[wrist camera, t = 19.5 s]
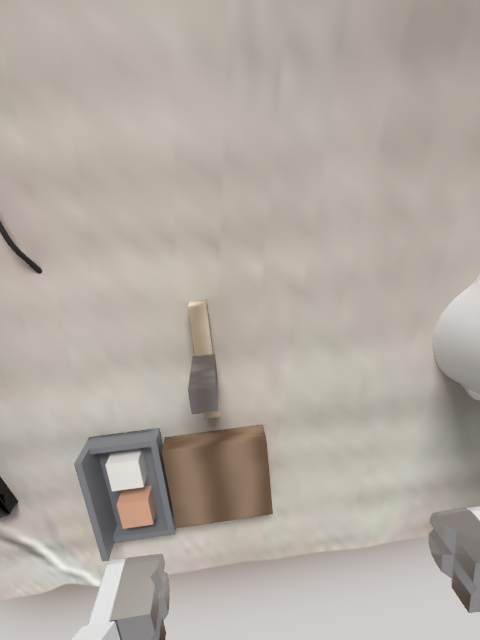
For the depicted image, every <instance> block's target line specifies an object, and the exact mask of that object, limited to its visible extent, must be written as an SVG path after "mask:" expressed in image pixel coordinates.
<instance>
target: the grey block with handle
mask: <svg viewBox="0 0 480 640" xmlns="http://www.w3.org/2000/svg"><path fill="white" fill-rule="evenodd" d="M188 312H189V319H190V325H191V332H192V339H193V346H194V353H195V356H194V357H193V359H192V366H191V373H190V381H189V388H188V392H189V399H190V405H191V412H192V414H197V413H203V415H204V419H209V418H216V417H221V416H220V401H219V393H218V383H217V369H216V361H215V354H213V346H212V338H211V331H210V323H209V315H208V307H207V300H201V301H192V302H189V306H188Z"/></svg>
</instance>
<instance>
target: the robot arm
mask: <svg viewBox="0 0 480 640" xmlns="http://www.w3.org/2000/svg"><path fill="white" fill-rule="evenodd" d="M433 353H434V357H435V360H436V363H437V365H438V366H439V368H440V369H441V371H442V372H443V373H444V374H445V375H446V376H448V377H449V378H450V379H452V380H454V381H456V382H457V383H459V384H461V385H462V386H463V387H464V389H465V390H466V392H467V393H468V394H469V396H470V397H472V398H473V399H475V400H480V275H479V276H478V277H477V279H476V280H475V282H474V283H473V284H472V285H471V286H470V287H469V288H467V289H466V290H465V291H463V292H462V293H461V294H460V295H458V296H457V297H456V298H455V299H454V300H453V301H452V302H451V303H450V304H449V305H448V307H447V308H446V309H445V310H444V312H443V313H442V315H441V317H440V319H439V321H438V323H437V325H436V328H435V331H434V336H433ZM430 524H431V525H432V526H433V528H434V529H433V530H432V531H431V533H430V534H429V546H430V550H431V554H432V556H433V558H434V560H435V562H436V564H437V565H438V567H439V568H440V570H441V571H442V572H443V573H445V574H446V575H448V576H449V577H451V578H452V588H453V590H454V591H455V593H456V594H457V596H458V597H459V599H460V600H461V602H462V603H463V605H464V606H465V608H466V609H467V611H468V612H469V613H472V612H480V506H477V507H470V508H465V509H464V508H461V509H455V510H449V511H442V512H436V513H433V514H432V515H431V518H430ZM164 566H165V561H164V557H163V554H156V555H148V556H139V557H131V558H123V559H116V560H110V561H109V563H108V564H107V566H106V568H105V572H104V575H103V578H102V581H101V584H100V588H99V591H98V594H97V597H96V601H95V604H94V607H93V610H92V613H91V617H90V620H89V623H88V625H86V626H82V627H81V628H80V630H79V631H78V632H77V633H76V634H75V636H74V637H73V638H72V639H71V640H165V636H166V631H165V626H164V622H163V621H164V619H165V618H166V616H167V615H168V610H169V579H168V574H167V573H166V572H164Z"/></svg>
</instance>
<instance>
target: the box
mask: <svg viewBox="0 0 480 640" xmlns="http://www.w3.org/2000/svg"><path fill="white" fill-rule="evenodd" d="M137 448H142V449H143V454H144V459H145V463H146V468H147V477H146V481H145V485H144V487H146V486H151V487H152V491H153V496H154V500H155V505H156V514H155V519H154V524H153V525H146V526H140V527H133V528H126V529H123V527H122V524H121V520H120V516H119V512H118V508H117V502H118V499H119V496H120V493H121V490H119V491H112V490H111V486H110V482H109V478H108V474H107V470H106V466H105V465H106V463H107V460H108V458H109V456H110V454H111V452H114V451H122V450H130V449H137ZM162 449H163V444H162V439H161V434H160V429H159V428H157V429H149V430H142V431H134V432H126V433H119V434H111V435H103V436H96V437H89V439H88V441H87V442H86V444H85V446H84V448H83V449H82V451H81V453H80V455H79V457H78V458H77V460H76V462H75V464H74V465H75V469H76V472H77V476H78V479H79V483H80V486H81V490H82V493H83V496H84V500H85V503H86V507H87V510H88V514H89V517H90V521H91V524H92V528H93V531H94V534H95V538H96V541H97V545H98V548H99V552H100V555H101V559H102V561H109V558H110V554H111V551H112V548H113V545H114V543H115V542H121V541H128V540H135V539H142V538H149V537H156V536H163V535H170V534H175V529H176V522H175V517H174V512H173V507H172V502H171V497H170V492H169V487H168V482H167V477H166V471H165V466H164V461H163V456H162Z"/></svg>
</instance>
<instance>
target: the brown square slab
mask: <svg viewBox="0 0 480 640" xmlns="http://www.w3.org/2000/svg"><path fill="white" fill-rule="evenodd" d="M162 456H163V461H164V466H165V471H166V477H167V482H168V487H169V492H170V497H171V502H172V507H173V512H174V517H175V522H176V528H179V527H186V526H193V525H200V524H207V523H214V522H221V521H228V520H235V519H241V518H248V517H255V516H262V515H269V514H273V511H272V500H271V489H270V477H269V466H268V455H267V443H266V436H265V432H264V428H263V425H256V426H249V427H241V428H233V429H226V430H218V431H211V432H203V433H195V434H188V435H180V436H173V437H165V440H164V445H163V449H162Z"/></svg>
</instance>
